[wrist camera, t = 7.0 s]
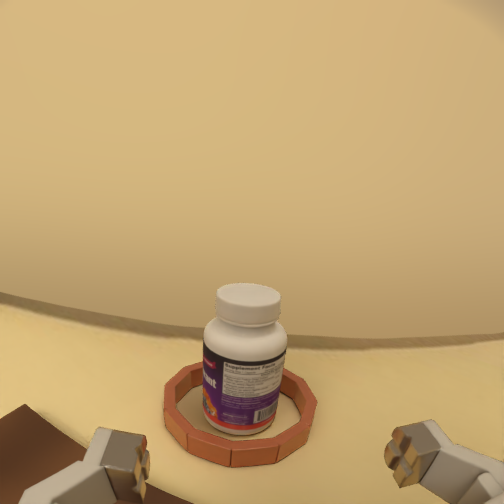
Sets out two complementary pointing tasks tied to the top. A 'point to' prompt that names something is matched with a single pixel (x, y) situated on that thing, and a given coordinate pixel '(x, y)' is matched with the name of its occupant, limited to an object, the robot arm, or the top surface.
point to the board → (44, 457)
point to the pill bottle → (243, 359)
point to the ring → (237, 450)
